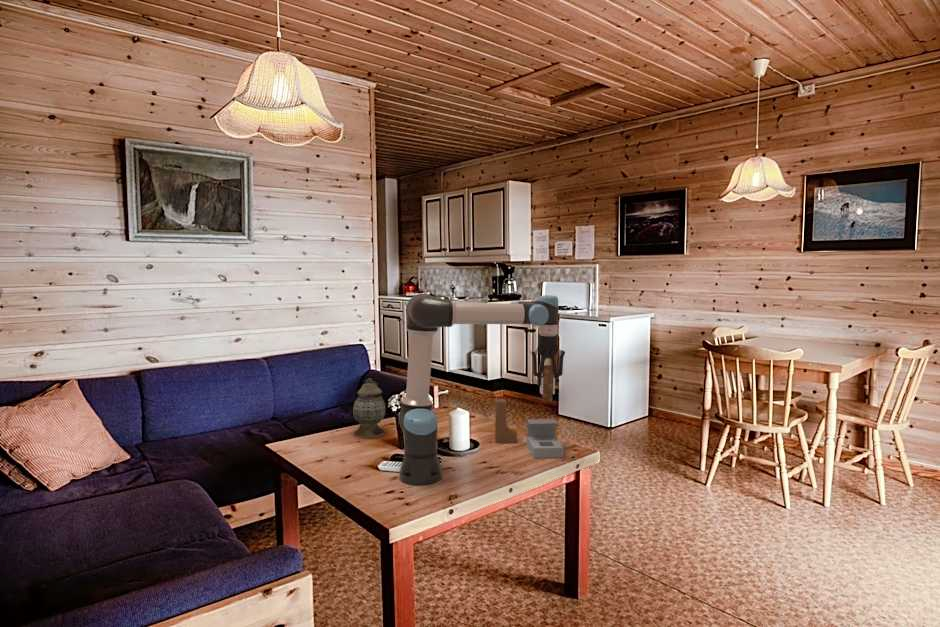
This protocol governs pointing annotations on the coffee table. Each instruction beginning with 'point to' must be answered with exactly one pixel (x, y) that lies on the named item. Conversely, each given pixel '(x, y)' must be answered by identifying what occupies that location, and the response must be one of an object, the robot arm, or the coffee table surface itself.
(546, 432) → the socket block
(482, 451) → the coffee table surface
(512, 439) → the wooden block
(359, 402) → the lantern
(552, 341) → the robot arm
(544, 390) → the dowel
